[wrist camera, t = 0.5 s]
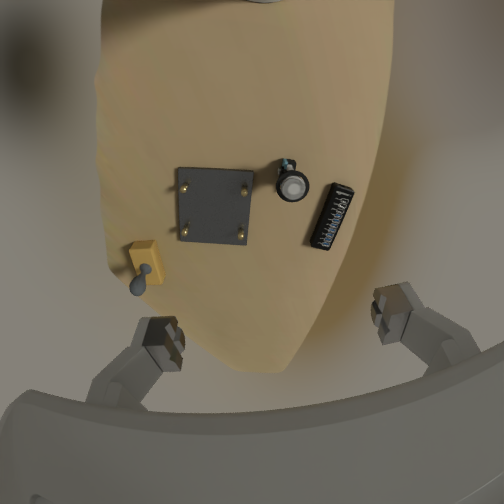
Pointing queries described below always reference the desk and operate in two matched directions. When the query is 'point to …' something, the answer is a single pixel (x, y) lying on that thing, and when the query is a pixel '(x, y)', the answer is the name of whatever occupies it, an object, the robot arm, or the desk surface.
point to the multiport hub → (331, 216)
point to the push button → (291, 182)
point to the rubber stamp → (146, 266)
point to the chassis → (214, 205)
